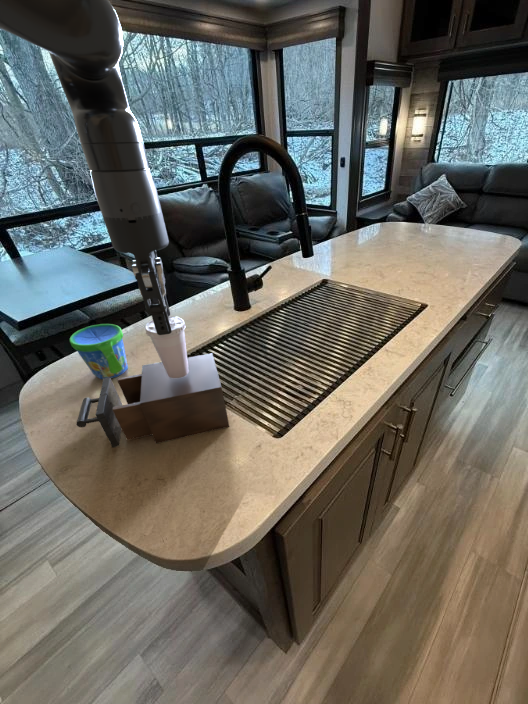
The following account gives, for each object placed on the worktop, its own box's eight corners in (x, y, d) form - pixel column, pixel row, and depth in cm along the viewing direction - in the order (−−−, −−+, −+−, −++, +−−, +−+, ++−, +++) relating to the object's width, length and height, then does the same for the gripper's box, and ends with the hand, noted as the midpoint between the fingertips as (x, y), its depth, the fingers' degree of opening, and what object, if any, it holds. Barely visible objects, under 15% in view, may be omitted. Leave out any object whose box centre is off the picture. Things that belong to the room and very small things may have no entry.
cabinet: (156, 443, 61) (139, 403, 55) (156, 403, 71) (142, 365, 65) (229, 426, 64) (221, 387, 59) (220, 390, 74) (212, 353, 68)
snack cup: (143, 379, 78) (128, 340, 71) (94, 395, 73) (74, 355, 67) (127, 352, 88) (113, 316, 82) (83, 364, 83) (64, 327, 77)
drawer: (86, 453, 58) (66, 420, 53) (95, 413, 67) (78, 382, 62) (184, 431, 62) (174, 398, 58) (180, 396, 71) (171, 365, 66)
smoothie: (202, 366, 63) (186, 294, 54) (182, 385, 58) (161, 309, 49) (174, 361, 64) (153, 289, 56) (152, 379, 60) (126, 304, 51)
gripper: (107, 204, 49) (142, 311, 60) (94, 222, 38) (138, 348, 49) (160, 201, 51) (185, 305, 61) (161, 217, 40) (191, 340, 51)
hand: (164, 324), depth 55 cm, fingers closed on smoothie, 6 cm apart
